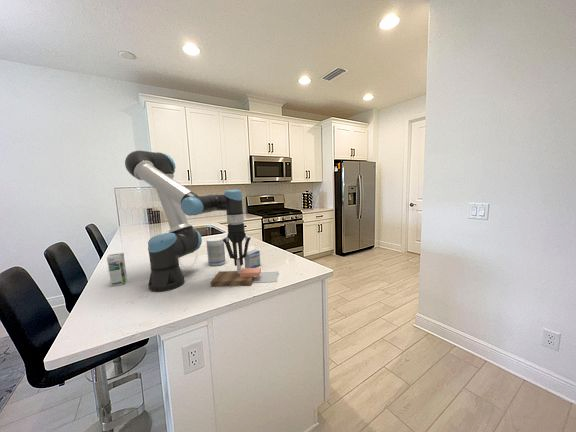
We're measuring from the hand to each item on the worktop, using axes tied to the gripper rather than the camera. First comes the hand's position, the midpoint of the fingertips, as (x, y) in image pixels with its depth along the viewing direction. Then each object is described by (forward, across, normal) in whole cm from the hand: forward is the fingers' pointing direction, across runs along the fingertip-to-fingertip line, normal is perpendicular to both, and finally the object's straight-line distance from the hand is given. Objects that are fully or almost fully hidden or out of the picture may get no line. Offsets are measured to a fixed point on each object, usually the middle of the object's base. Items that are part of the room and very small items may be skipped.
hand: (239, 271), depth 112 cm
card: (+2, +5, 0) cm, 5 cm away
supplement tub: (+4, -19, +24) cm, 31 cm away
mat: (+4, +12, +2) cm, 13 cm away
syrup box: (+4, -59, 0) cm, 59 cm away
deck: (+4, -3, -1) cm, 5 cm away
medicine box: (+4, +3, +17) cm, 18 cm away
